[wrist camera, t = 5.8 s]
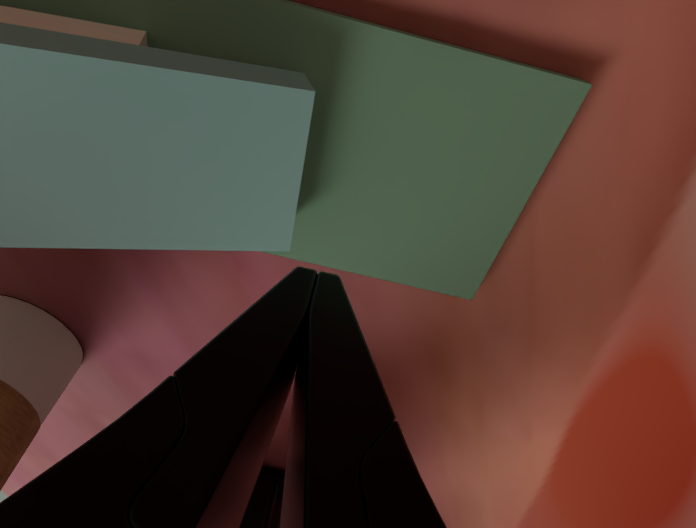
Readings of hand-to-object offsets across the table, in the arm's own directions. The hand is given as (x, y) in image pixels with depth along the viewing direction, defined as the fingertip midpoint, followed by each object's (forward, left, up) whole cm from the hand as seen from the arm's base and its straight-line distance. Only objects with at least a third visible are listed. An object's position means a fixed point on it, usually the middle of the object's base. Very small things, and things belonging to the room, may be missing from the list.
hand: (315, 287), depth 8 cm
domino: (0, +1, -5) cm, 5 cm away
